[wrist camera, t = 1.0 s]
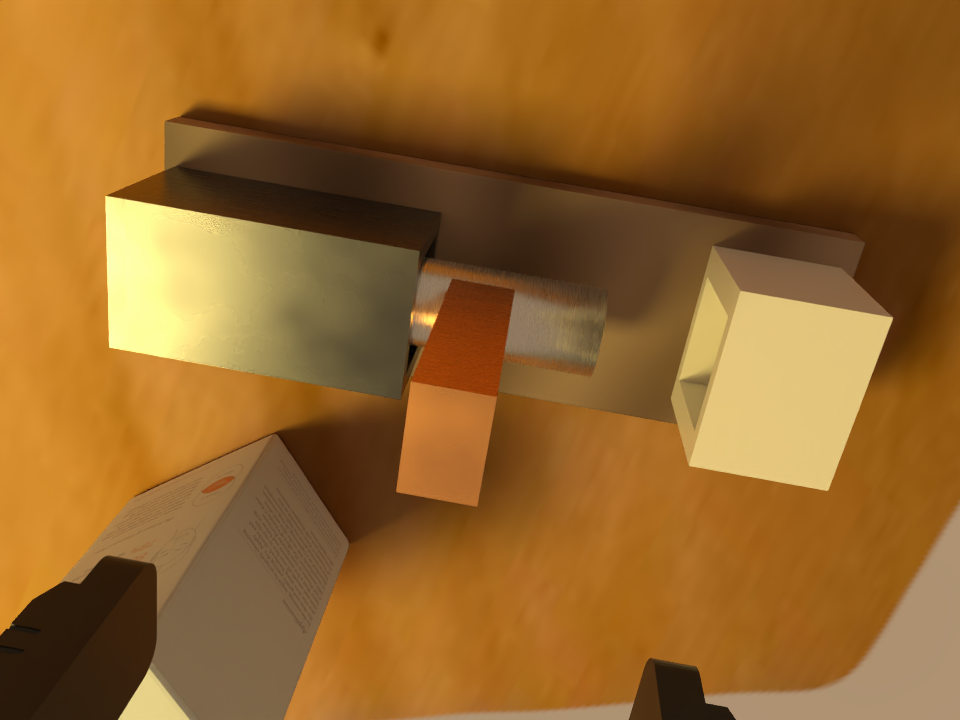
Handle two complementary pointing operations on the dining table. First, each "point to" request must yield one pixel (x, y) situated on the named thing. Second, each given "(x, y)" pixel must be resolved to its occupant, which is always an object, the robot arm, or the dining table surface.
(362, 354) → the dark hollow rectangular block
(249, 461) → the small box
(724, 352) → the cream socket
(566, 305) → the sliding bolt
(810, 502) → the dining table surface
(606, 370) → the walnut board
